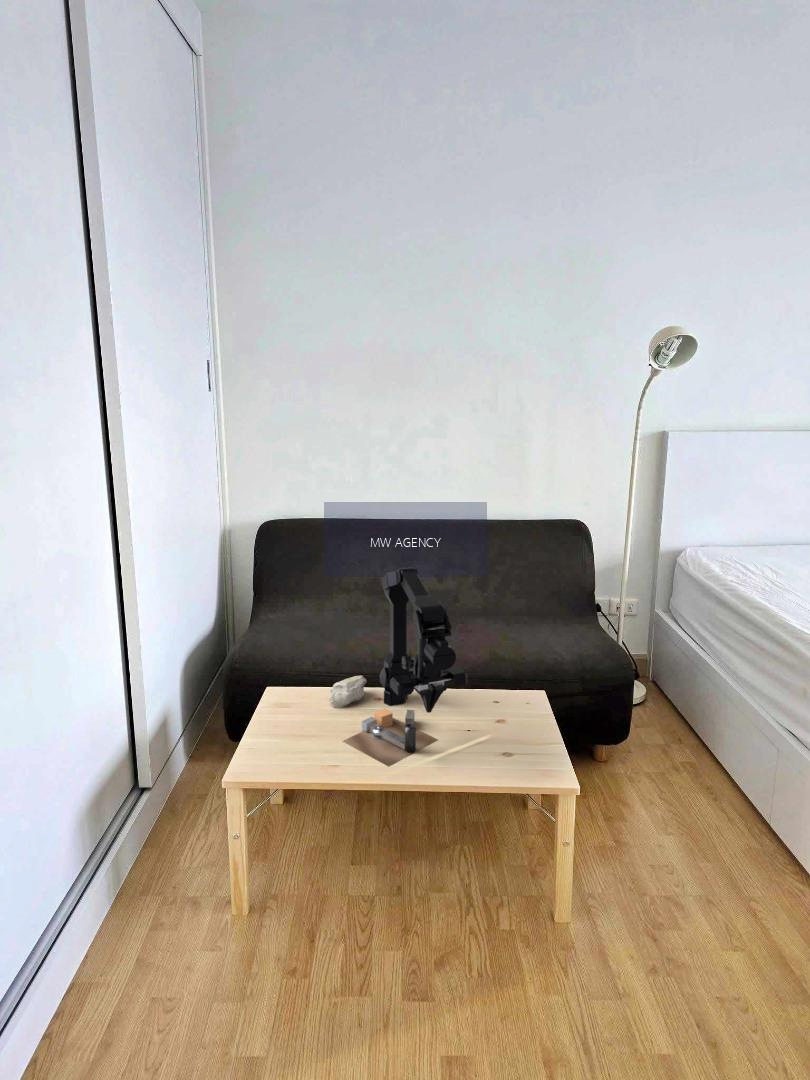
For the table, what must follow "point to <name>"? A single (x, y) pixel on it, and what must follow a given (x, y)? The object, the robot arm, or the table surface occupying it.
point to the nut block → (384, 717)
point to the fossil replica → (347, 691)
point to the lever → (392, 734)
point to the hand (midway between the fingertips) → (428, 711)
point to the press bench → (386, 749)
